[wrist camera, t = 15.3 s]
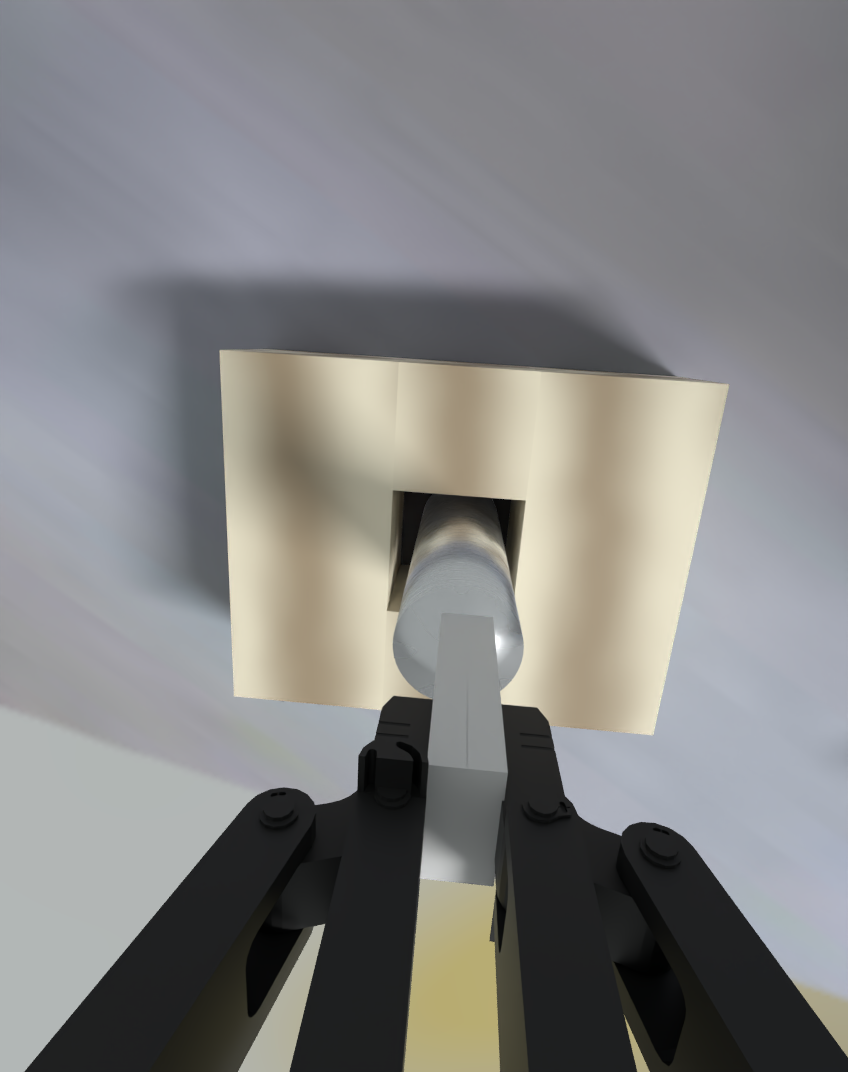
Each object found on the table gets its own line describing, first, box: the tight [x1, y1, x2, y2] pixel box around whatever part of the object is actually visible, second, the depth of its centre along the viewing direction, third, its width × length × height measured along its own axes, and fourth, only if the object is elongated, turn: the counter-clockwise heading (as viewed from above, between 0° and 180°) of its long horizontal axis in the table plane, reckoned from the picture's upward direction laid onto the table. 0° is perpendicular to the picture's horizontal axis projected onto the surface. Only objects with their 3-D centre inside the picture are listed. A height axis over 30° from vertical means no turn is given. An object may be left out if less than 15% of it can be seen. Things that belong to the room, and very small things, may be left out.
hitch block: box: [219, 349, 729, 735], centre depth 29 cm, size 20×16×6 cm
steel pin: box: [393, 493, 524, 699], centre depth 25 cm, size 4×4×14 cm
